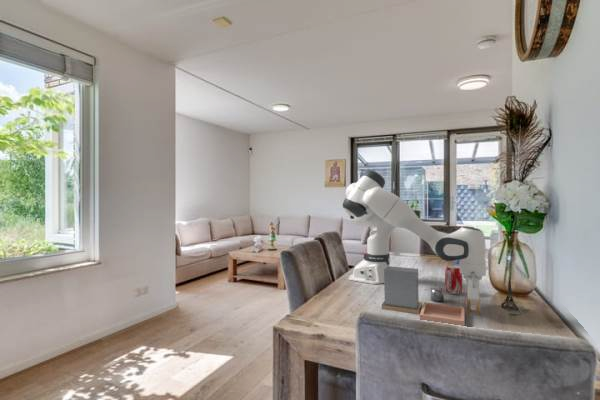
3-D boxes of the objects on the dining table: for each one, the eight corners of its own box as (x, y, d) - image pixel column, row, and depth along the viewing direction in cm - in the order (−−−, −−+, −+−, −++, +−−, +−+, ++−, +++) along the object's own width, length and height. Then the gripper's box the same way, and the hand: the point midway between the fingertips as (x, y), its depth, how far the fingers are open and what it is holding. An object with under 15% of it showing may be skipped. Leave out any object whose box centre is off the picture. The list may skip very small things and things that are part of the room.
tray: (419, 321, 110) (419, 314, 110) (424, 308, 122) (424, 302, 122) (464, 328, 104) (464, 321, 103) (464, 314, 116) (464, 307, 116)
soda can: (441, 291, 143) (441, 265, 143) (453, 289, 145) (452, 264, 145) (455, 296, 136) (454, 268, 136) (466, 293, 139) (466, 267, 139)
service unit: (381, 308, 123) (380, 269, 123) (387, 300, 132) (386, 264, 132) (419, 314, 117) (418, 273, 116) (422, 305, 126) (421, 267, 125)
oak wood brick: (466, 312, 118) (466, 293, 118) (466, 308, 122) (466, 290, 122) (480, 313, 116) (479, 295, 116) (479, 309, 120) (479, 291, 120)
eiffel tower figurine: (514, 318, 112) (514, 281, 112) (486, 309, 121) (485, 275, 121) (535, 310, 120) (535, 275, 119) (507, 302, 129) (507, 270, 128)
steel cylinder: (430, 301, 130) (430, 289, 130) (431, 298, 135) (431, 286, 135) (443, 303, 128) (443, 291, 128) (444, 299, 132) (444, 287, 132)
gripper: (483, 276, 108) (484, 316, 108) (480, 264, 126) (481, 298, 126) (463, 274, 111) (463, 313, 111) (463, 263, 129) (463, 296, 129)
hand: (472, 305), depth 119 cm, fingers open, 8 cm apart
